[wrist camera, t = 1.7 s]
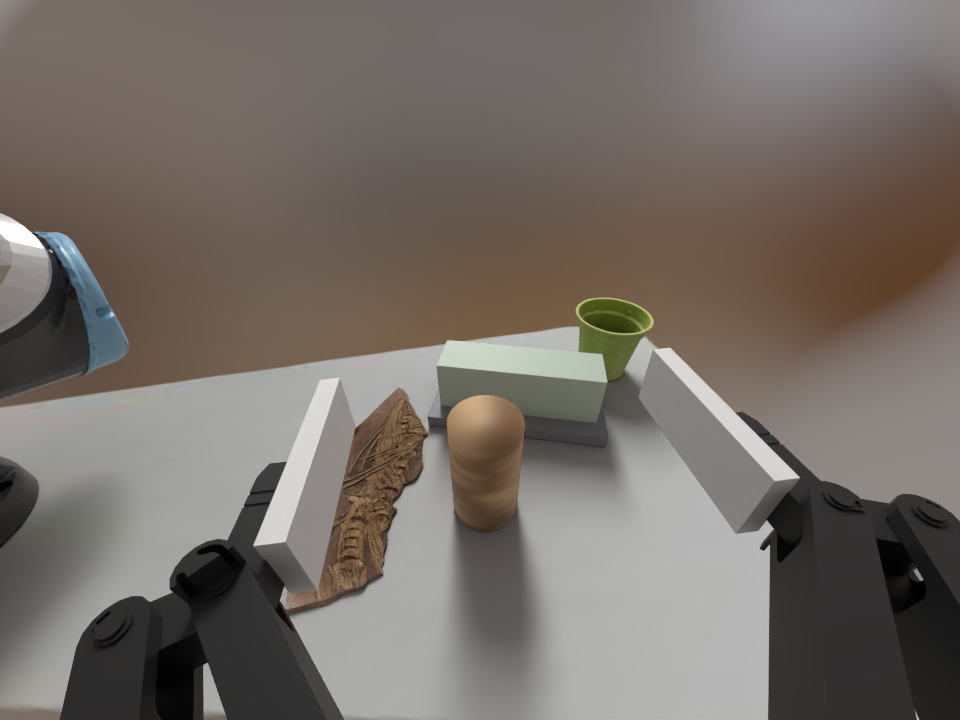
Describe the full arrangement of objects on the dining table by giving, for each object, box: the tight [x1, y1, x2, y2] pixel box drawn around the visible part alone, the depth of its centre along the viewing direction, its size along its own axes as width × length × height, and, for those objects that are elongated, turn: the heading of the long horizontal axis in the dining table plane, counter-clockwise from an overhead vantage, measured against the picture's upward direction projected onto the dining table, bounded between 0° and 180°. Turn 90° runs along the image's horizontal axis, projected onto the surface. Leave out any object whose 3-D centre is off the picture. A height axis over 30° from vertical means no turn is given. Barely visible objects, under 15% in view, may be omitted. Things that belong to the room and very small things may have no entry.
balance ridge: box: [428, 340, 608, 447], centre depth 42 cm, size 20×9×8 cm, turn 81°
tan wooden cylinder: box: [447, 395, 525, 532], centre depth 31 cm, size 6×6×11 cm
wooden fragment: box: [286, 388, 428, 614], centre depth 37 cm, size 26×11×1 cm, turn 169°
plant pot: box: [576, 298, 654, 381], centre depth 48 cm, size 9×9×9 cm
